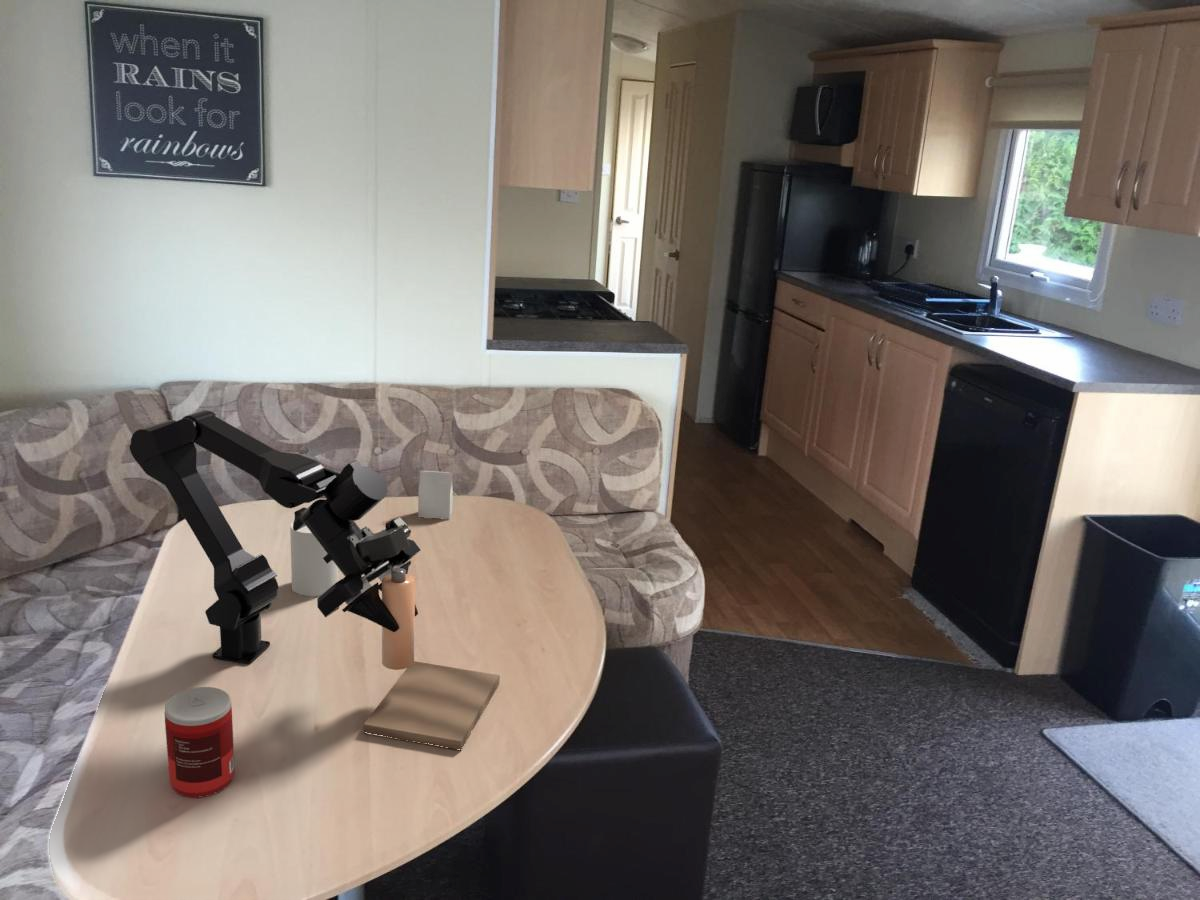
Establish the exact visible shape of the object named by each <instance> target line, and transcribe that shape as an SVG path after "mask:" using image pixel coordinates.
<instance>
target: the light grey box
mask: <svg viewBox="0 0 1200 900" xmlns="http://www.w3.org/2000/svg"><path fill="white" fill-rule="evenodd" d="M453 484H454V483H453V472H447V471H433V470H420V472H419V481H418V503H417V505H418V506H417V507H418V508H417V509H418V510H417V511H418V512H417V515H418V516H417V518H418V517H424V518H423V519H432V518H440V519H439V520H447V519H451V517H452V515H453V501H454V500H453V495H454V485H453ZM451 514H452V515H451ZM450 516H451V517H450ZM442 518H443V519H442ZM445 518H446V519H445Z"/></svg>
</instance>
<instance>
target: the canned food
mask: <svg viewBox="0 0 1200 900" xmlns="http://www.w3.org/2000/svg"><path fill="white" fill-rule="evenodd" d="M164 705H165V706H164V724H165V725H164V726H165V729H164V730H165V738H166V752H167V763H168V777H169V782H170V785H171V787H172V788H173V789H172V790H174V791H175V792H176V793H177V792H178V793H177V794H179V795H182V796H183V795H184V796H183V797H188V798H200V797H199V796H205V797H207V796H206V795H209V796H211V795H210V794H212V795H214V794H213V793H215V792H217V793H219V792H221V791H222V790H224V789H225V788H226V787H228V786H229V785H230V783H231V782H232V781H233V777H234V774H235V751H234V750H235V749H234V729H233V728H234V725H233V709H232V700H231V697H230V695H229V693H228V692H226V691H225V690H223V689H221V688H217V687H213V686H212V687H211V686H199V687H198V686H197V687H192V688H188V689H184V690H182V691H179V692H177V693H175V694H174V695H172V696H171V697H170V698H168V700H167V701H166V703H165V704H164ZM228 784H229V785H228ZM224 787H225V788H224ZM223 788H224V789H223ZM220 790H221V791H220ZM218 791H219V792H218ZM215 794H216V793H215Z"/></svg>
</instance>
